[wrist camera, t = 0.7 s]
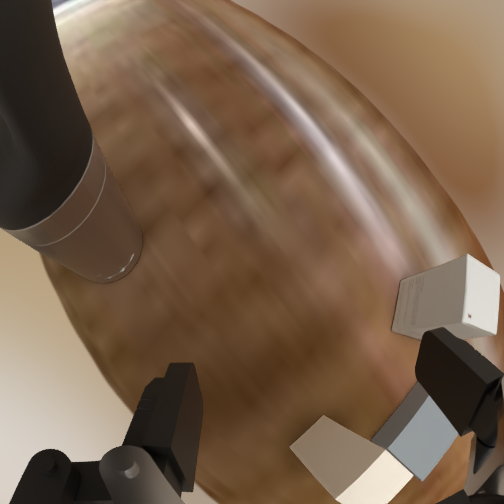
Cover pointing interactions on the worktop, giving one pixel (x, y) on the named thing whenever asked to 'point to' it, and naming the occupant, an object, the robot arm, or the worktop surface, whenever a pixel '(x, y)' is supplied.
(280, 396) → the worktop surface
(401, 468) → the cream block
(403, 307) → the supplement box
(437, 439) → the plinth
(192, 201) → the worktop surface
